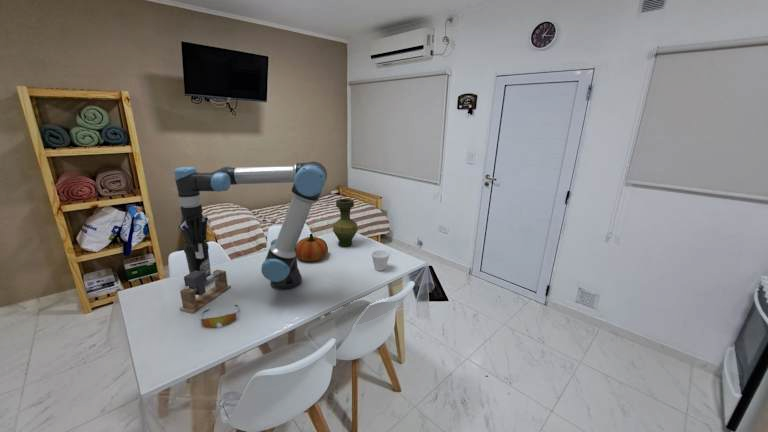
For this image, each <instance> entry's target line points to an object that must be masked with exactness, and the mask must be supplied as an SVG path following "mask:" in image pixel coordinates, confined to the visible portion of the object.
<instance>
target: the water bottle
mask: <svg viewBox="0 0 768 432" xmlns="http://www.w3.org/2000/svg"><path fill="white" fill-rule="evenodd" d="M184 243H185V244H184V246H183V252H184V254H185V259H186V262H187V268H188V271H189V274H190V273H191V272H193V271H195V270H196V271H202V272H206V277H208V276H210V275H211V274H212V273H211V272H212V271H211V264H210V263H211V262H210V261H211V260H210V254H209V243H207V241H205V242H204V243H203V254H204V258H202V259H199V258H196V254H195V252H194V249H193V245H188V244H187V241H186V240H185V242H184Z"/></svg>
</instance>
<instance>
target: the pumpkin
mask: <svg viewBox="0 0 768 432" xmlns="http://www.w3.org/2000/svg"><path fill="white" fill-rule="evenodd" d="M296 251H297V259H299V260H301V261H304V262H318V261H319V260H322V259H324V258H325V257H326V256H327V254H328V251H329V246H328V243H327V242H326V240H324V239H323V238H320V237H317V236H314V235H313V233H310V234H309V236H308V237H305V238H302V239H299V240H298V242H297V246H296Z"/></svg>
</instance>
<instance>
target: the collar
mask: <svg viewBox="0 0 768 432" xmlns="http://www.w3.org/2000/svg"><path fill="white" fill-rule="evenodd" d="M183 280H184V286H185V287H188V288H189V287H193V288H198V292H196V293H195V296H198V297H199V296H201V295H202V294H204V293H205V292H206V287H205V284H204V283H205V282H206V281H207V278H206V272H202V271H196V270H195V271H193V272H191V273H190V272H189V273H188V274H186V275H184V276H183Z"/></svg>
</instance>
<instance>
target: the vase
mask: <svg viewBox="0 0 768 432" xmlns="http://www.w3.org/2000/svg"><path fill="white" fill-rule="evenodd" d="M335 207H336V208H338V209H339V213H340V216H339V217H340V218H339V219H338V220H337V221H335V222H333V227H332V232H333V233H334V235H335V237H336V238H337V239H338V247H339V248H343V249H344V248H347V249H348V248H351V247H352V246H353V239H354V237H356V236H355V235H356V234H357V232H358V224H357V222H355V221H354V220H353V219H352V218H351V209H352V208H354V207H355V200H354V199H352V198H339V199H336V200H335Z"/></svg>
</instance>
